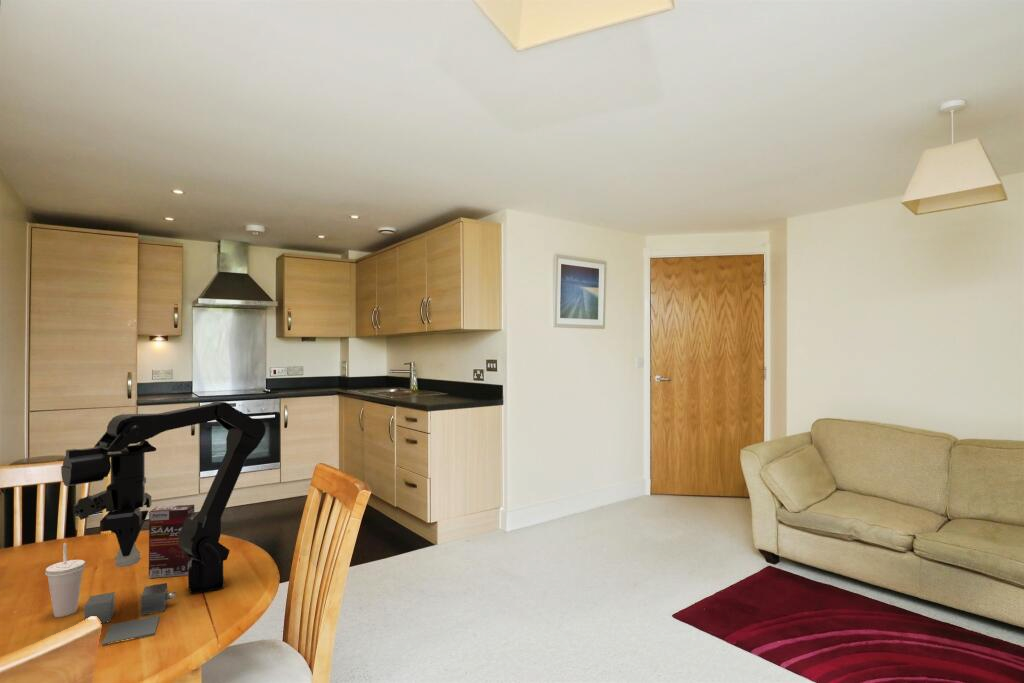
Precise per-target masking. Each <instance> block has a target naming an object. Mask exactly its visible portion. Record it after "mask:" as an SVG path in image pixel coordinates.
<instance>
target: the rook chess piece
mask: <svg viewBox="0 0 1024 683" xmlns="http://www.w3.org/2000/svg"><path fill="white" fill-rule="evenodd" d="M140 556H141V553H140V551H139V549H138V548H137V545H136V542H135V543H134V545H133V548H132V550H131V553H130V555H129V556H123V555H122V552H121V549H120V548H119V549H118V552H117V554H116V555H115V556H114V560H115V562H114V563H113V565H115V566H116V567H117V568H125V567H131V566H134V565H136V564H138V563H139V562H140V561H141V557H140Z"/></svg>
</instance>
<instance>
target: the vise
mask: <svg viewBox="0 0 1024 683" xmlns="http://www.w3.org/2000/svg"><path fill="white" fill-rule="evenodd" d="M115 595H116V593H115V591H113V592H107V593H101V594H95V595H90V597H89V598H88V599H87V601H86V603H85V605H84V620H85V619H86V618H88V617H90V616H97V617H98V618H99V619H100V621H101V622H102V624H106V623H105V622H107V621H108V622H107V623H111V621H112V618H113V617H114V616H113V615H114V614H115V610H116V608H115V604H116V600H115V599H116V597H115ZM175 598H176V591H173V592H168V582H164V583H159V584H153V585H147V586H144V587H143V591H142V593H141V598H140V599H141V602H140V603H141V605H140V608H141V609H140V612H141V613H140V614H141V615H143V616H146V615H145V614H148V615H151V614H150V613H153V614H156V613H155V612H159V613H162V612H161V611H164V612H165V611H166V608H167V604H168V600H173V599H175Z"/></svg>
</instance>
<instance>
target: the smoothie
mask: <svg viewBox="0 0 1024 683" xmlns="http://www.w3.org/2000/svg"><path fill="white" fill-rule="evenodd" d="M62 546H63V548H62V550H63V553H62V556H63V559H62V560H63V561H60V562H57V563H54V564H51V565H49V566H48V567H46V568H45V573H44V574H45V576H47V580H48V581H47V582H48V587H49V593H50V594H49V595H50V599H51V607H52V613H53V617H54V618H61V617H63V618H64V617H66V616H70V615H72V614H74V613H76V612H77V611H78V605H79V598H80V591H81V584H82V578H83V572H84V569H85V567H86V561H85V560H83V559H70V560H68V553H67V552H68V551H67V550H68V547H67V546H68V545H67V542H64V543H63V544H62Z"/></svg>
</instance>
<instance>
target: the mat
mask: <svg viewBox="0 0 1024 683" xmlns="http://www.w3.org/2000/svg"><path fill="white" fill-rule="evenodd" d="M160 617H161V616H160V614H159V615H154V616H149V617H144V618H139V619H133V620H128V621H124V622H118V623H113V624H110V626H109V628H108V630H107V632H106V635H105V636H104V639H103V641H102V643H101V646H102V647H103V646H104V645H105V646H107V645H106V644H108V643H111V642H116V641H121V640H126V639H131V638H138V639H140V638H139V637H143V638H146V637H145V636H148V637H151V636H150V635H152V636H155V634H156V631H157V629H156V628H158V625H159V622H158V621H160Z"/></svg>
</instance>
